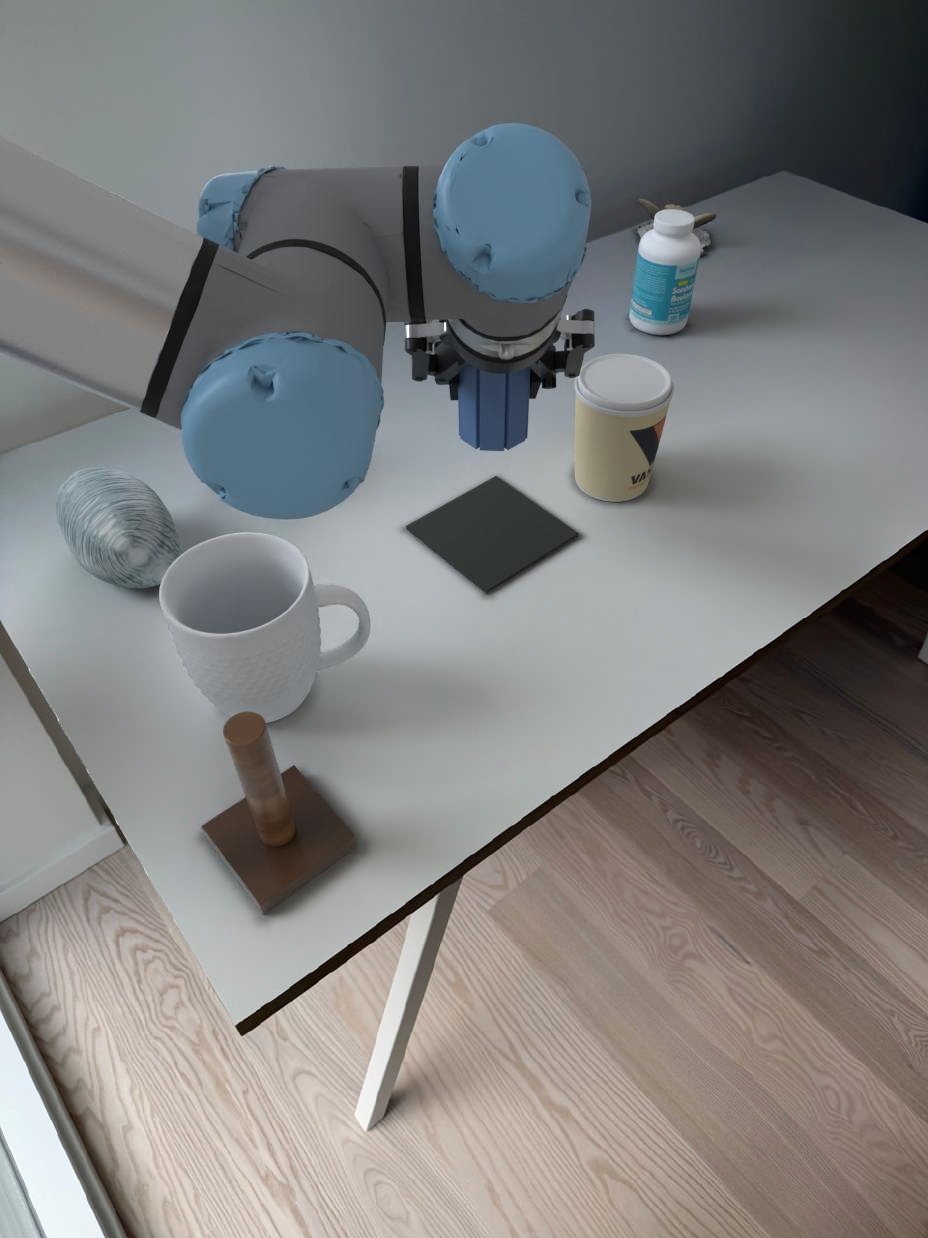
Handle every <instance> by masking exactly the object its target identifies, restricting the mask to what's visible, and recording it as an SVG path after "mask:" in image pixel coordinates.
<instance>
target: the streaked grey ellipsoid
mask: <svg viewBox="0 0 928 1238" xmlns="http://www.w3.org/2000/svg"><path fill="white" fill-rule="evenodd" d="M55 497H56V498H55V499H56V500H55V513H56V522H57V525H58V527H59V530H60V533H61V535H62V538H63V540H64V541H65V543H66V546H67V547H68V550H69V551H70V552H71V554H72V556H73V557H74V558H75V560H76V561H77V563H78V564H79V565H80V566H81V567H82V568H83V569H84V570H85V571H86V572H87V573H89V574H90V575H92V576H93V577H95V578H97V579H98V580H100V581H102V582H104V583H108V584H111V585H113V586H116V587H122V588H131V589H148V588H153V587H158V586H160V585H161V581H162V579H163V577H164V575H165V573H166V571H167V570H168V568H169V567H170V565H171V564H172V563H173V562H174V561H175V560H176V559H177V558H178V557H179V556H180V555H181V547H180V540H179V533H178V530H177V528H176V525H175V523H174V520H173V518H172V516H171V513H170V511H169V509H168V508H167V506H166V505H165V503H164V502H163V500H162V499H161V497H160V496H159V495H158V493H157V492H156V491H155V490H154V489H153V488H151V486H150V485H148V484H147V483H145V482H144V481H143V480H142V479H139V478H137V477H136V476H134V475H132V474H130V473H127V472H125V471H122V470H119V469H116V468H112V467H101V466H100V467H99V466H91V467H86V468H83V469H79V470H77V471H74V472H73V473H72V474H71V475H70V476H69V477H68V478H67V479H66V480H65V481H64V482H63V483H62V484H61V485H60V486H59V489H58V491H57V493H56V496H55Z"/></svg>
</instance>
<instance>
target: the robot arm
mask: <svg viewBox="0 0 928 1238" xmlns="http://www.w3.org/2000/svg"><path fill="white" fill-rule="evenodd" d="M198 199H199V200H198V207H197V209H198V221H197V222H196V233H195V232H193V231H191V230H189V229H188V228H185V227H184V226H182V225H179V224H177V223H176V222H173V221H172V220H169V219H168V218H166V217H163V216H161V215H159V214H157V213H155V212H153V211H151V210H149V209H147V208H146V207H143V206H142V205H139V204H137V203H135V202H134V201H132V200H129V199H127V198H125V197H123V196H122V195H119V194H117V193H115V192H114V191H111V190H109V189H107V188H105V187H103V186H101V185H100V184H97V183H95V182H93V181H91V180H89V179H87V178H85V177H84V176H81V175H79V174H77V173H75V172H73V171H71V170H69V169H67V168H66V167H63V166H61V165H59V164H57V163H55V162H53V161H51V160H49V159H47V158H45V157H43V156H42V155H39V154H37V153H36V152H33V151H31V150H29V149H27V148H25V147H23V146H21V145H19V144H17V143H15V142H13V141H11V140H9V139H7V138H5V137H3V136H2V135H0V356H2V357H4V358H6V359H9V360H11V361H13V362H16V363H18V364H21V365H24V366H26V367H29V368H31V369H33V370H36V371H38V372H40V373H43V374H45V375H48V376H51V377H53V378H55V379H58V380H60V381H62V382H65V383H68V384H70V385H73V386H74V387H78V388H80V389H82V390H85V391H87V392H90V393H92V394H94V395H96V396H100V397H102V398H104V399H107V400H109V401H112V402H114V403H116V404H119V405H121V406H123V407H126V408H129V409H132V410H134V411H136V412H139V413H141V414H143V415H145V416H148V417H150V418H153V419H155V420H157V421H160V422H162V423H164V424H166V425H167V426H171V427H173V428H175V429H178V430H181V442H182V443H181V444H182V448H183V452H184V456H185V459H186V461H187V462H188V465H189V467H190V469H191V470H192V472H193V473H194V475H195V476H196V477H197V479H198V480H199V481H200V483H203V484H205V485H206V486H207V487H208V488H209V489H210V490H212V491H213V492H214V493H215V494H216V495H217V496H218V497H219V499H220V501H222V502H223V503H225V505H228V506H229V507H231V508H234V509H236V510H238V511H239V512H242V513H245V514H247V515H251V516H254V517H259V518H261V519H262V518H263V519H271V520H285V521H286V520H287V521H288V520H302V519H306V518H307V519H308V518H311V517H315V516H318V515H321V514H323V513H326V512H328V511H331V510H332V509H333V508H335V507H337V506H339V505H340V504H342V503H343V502H345V500H347V499H348V498H350V496H351V495H352V494H353V493H354V492H355V491H356V489H357V488H358V487H359V486H360V485H361V484H362V483H363V482H365V480H366V476H367V473H368V471H369V468H370V465H371V462H372V457H373V451H374V447H375V441H376V437H377V436H376V435H377V430H378V429H379V428H380V424H381V414H382V412H383V409H384V408H385V396H384V393H385V390H384V387H383V385H382V379H383V364H384V362H383V360H384V346H385V340H386V331H387V323H404V324H403V327H404V328H403V329H404V332H403V333H404V351H405V352H406V353H407V354H408V355H409V356H411V380H412V381H415V382H421V383H422V382H423V381H426V380H428V376H432V377H434V382H435V384H436V385H438V386H448V388H449V399H450V401H458V373H459V372H461V371H462V370H463V369H465V368H466V367H475V368H478V369H480V370H482V371H485V372H489V373H495V374H507V373H513V372H517V371H520V370H522V369H525V368H527V367H530V368H531V371H530V393H529V400H535V399H536V398H537V395H538V393H539V390H540V387H541V389H543V390H552V389H557V374H560V373H564V374H563V375H564V377H565V378H569V379H576V377H577V376H579V375H580V371H581V368H582V367H583V361H584V359H585V358H584V357H585V354H586V353H587V352H588V351H590V350H592V349H593V348H595V346H596V344H595V343H596V342H595V339H596V337H595V311H594V310H593V309H589V308H583V309H580V310H578V311H577V312H575V313H574V314H567V315H565V318H563V319H562V318H561V316H562V313H563V310H564V308H565V304H566V302H567V298H568V293H569V290H570V289H571V286H572V283H573V282H574V281H573V280H575V277H576V275H577V274H578V272H579V270H580V269H581V268H582V265H583V262H584V259H585V256H586V253H587V249H588V248H587V246H586V242H587V238H588V231H589V225H590V219H591V211H592V203H593V201H592V198H591V191H590V186H589V182H588V179H587V176H586V173H585V171H584V169H583V167H582V164H581V163H580V161H579V160H578V158H577V157H576V155H575V154H574V152H573V151H572V150H571V149H570V148H569V147H568V146H567V145H566V144H565V143H564V142H563V141H561V140H560V139H559V138H558V137H557V136H555V135H553V134H552V133H550V132H548V131H546V130H544V129H542V128H540V127H537V126H534V125H530V124H527V123H518V122H508V123H507V122H506V123H499V124H494V125H491V126H489V127H488V128H485V129H483V130H481V131H479V132H477V133H475V134H473V135H472V136H471V137H469V138H468V139H466V140H464V141H463V142H461V143H460V144H459V146H457V147H456V149H455V150H454V151H453V152H452V153H451V155H450V156H449V158H448V159H447V162H446V163H445V162H444V163H420V164H418V165H405V166H369V167H368V166H367V167H366V166H365V167H361V166H360V167H320V168H319V167H317V168H314V167H313V168H312V167H311V168H309V167H308V168H286V167H284V166H279V165H278V166H276V165H275V166H271V165H270V166H266V167H262V168H261V169H257V170H256V169H255V170H248V171H239V172H230V173H222V174H218V175H216V176H214V177H213V178H211V179H210V180H209V181H207V182H206V184H205V185H204V186H203V188H202V190H201V193H200V195H199V198H198ZM436 320H438V322H433V321H436ZM560 339H561V341H562V342H564V343H563V350H557V347H556V346H555V344H556V343H557V342H558V341H559V340H560Z"/></svg>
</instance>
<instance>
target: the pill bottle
mask: <svg viewBox="0 0 928 1238" xmlns="http://www.w3.org/2000/svg"><path fill="white" fill-rule="evenodd" d="M661 210H662V211H659V212H658V213H656V215H655V218H654V220H653V222H652V223H653V227H654V229H652V230H650V231H648V232H647V233H646V234H644V235H643V237H642V238H640V239H641V240H639V243H638V249H637V256H636V264H635V269H634V277H633V285H632V292H631V299H630V307H629V313H628V314H629V315H628V317H629V321H630V323H631V325H632V326H633V327H635V329H637V330H638V331H640V332H642V333H645V334H649V335H653V336H668V335H674V334H676V333H678V332H680V331H682V330H683V329H684V328H685V327H686V325H687V323H688V321H689V314H690V310H691V309H690V308H691V304H692V298H693V294H694V288H695V284H696V277H697V273H698V268H699V263H700V257H701V256H700V252H701V244H700V241H699V239H698V238H697V236H696V235H695V234H693V233H692V230H693V227H694V221H695V218H694V217H695V216H694V214H692V213H690V212H688V211H686V210H685V211H682V210H675V209H668V210H663V209H661Z"/></svg>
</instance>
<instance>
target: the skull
mask: <svg viewBox="0 0 928 1238" xmlns="http://www.w3.org/2000/svg"><path fill="white" fill-rule="evenodd" d="M638 204H640V206H641V207H642V208H643V209H644V210H645V211H646V212H647V213H648V214H649V216H650V217H651V218H652V220H653V221H654V218H655V215H656V213H658V212H659V211H662V210H668V209H675V210H682V211H686V209H684V208H683V207H682V206H680V205H679V204H678V205H675V203H672V204H666V205H665V206H664V207H663V209H660V208H659V207H658V206H657V205H655V203H654V202H651V201H650V200H648V199H645V198H638ZM717 216H718V215H717V213H715V212H707V213H703V214H699V215H696V216H694V218H695V221H694V227H693V230H692V233H693V234H695V235H696V236H697V238H698V239H699V241H700V244H701V252H700V257H703V256H705V251H704V248H705V247H706V246H707V248H708V249H710V248H711V246H712V244H711V243H712V241H711V239H710V234H709V233H708V231H707V230H704V229H703V228H702V227H701V226H704V225H707V224H708V223H712V222H713V221H714V220H715V219H716V218H717ZM653 223H654V222H652V221H649V222H646V224H644V225H643V226H640V225H638V227H637V229H636V232H637V233H638V236H639V238H640V240H641V238H642V237H643V235H644V234H646V233H647V232H648V231H650V230H652V229H654V227H653ZM640 240H639V241H640Z"/></svg>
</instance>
